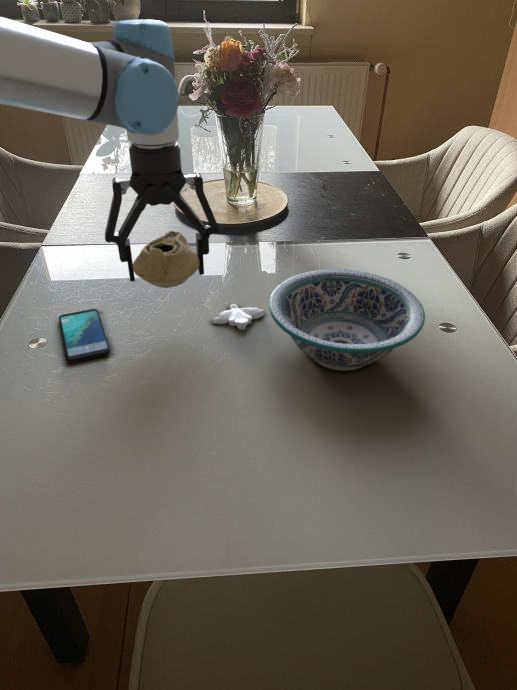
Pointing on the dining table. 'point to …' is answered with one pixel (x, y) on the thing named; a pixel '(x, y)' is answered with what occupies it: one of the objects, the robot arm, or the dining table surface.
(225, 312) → the acanthus leaf ornament
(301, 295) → the bowl
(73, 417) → the dining table surface
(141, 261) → the oil lamp
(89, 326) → the smartphone
